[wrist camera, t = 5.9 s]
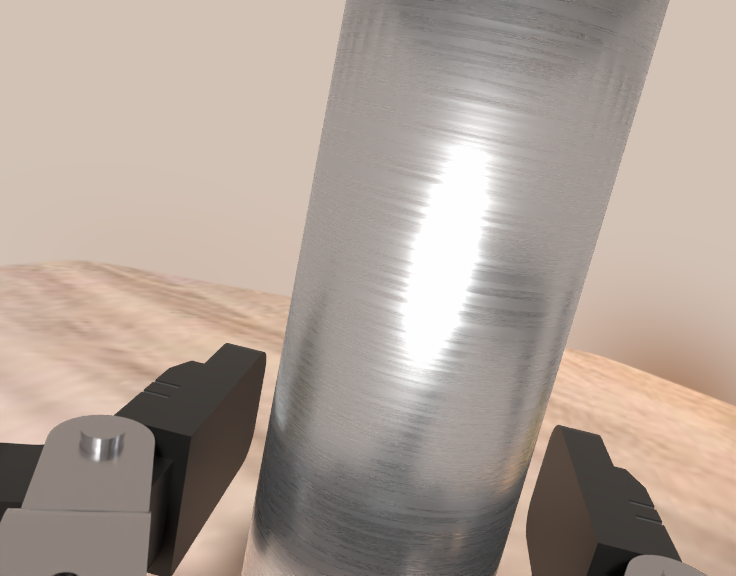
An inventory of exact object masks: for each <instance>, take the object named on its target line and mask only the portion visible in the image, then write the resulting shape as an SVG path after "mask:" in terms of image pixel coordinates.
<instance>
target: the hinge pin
mask: <svg viewBox="0 0 736 576" xmlns="http://www.w3.org/2000/svg"><path fill="white" fill-rule="evenodd" d="M668 3H669V0H346V4H345V9H344V15H343V20H342V26H341V31H340V37H339V42H338V48H337V53H336V58H335V64H334V70H333V75H332V80H331V86H330V91H329V97H328V102H327V108H326V113H325V119H324V124H323V130H322V135H321V140H320V146H319V152H318V158H317V162H316V168H315V173H314V179H313V185H312V190H311V196H310V201H309V206H308V212H307V217H306V223H305V228H304V234H303V239H302V245H301V250H300V256H299V261H298V266H297V272H296V278H295V283H294V289H293V294H292V299H291V305H290V310H289V316H288V321H287V327H286V332H285V338H284V343H283V349H282V354H281V360H280V365H279V370H278V376H277V381H276V387H275V392H274V398H273V403H272V409H271V414H270V420H269V425H268V431H267V436H266V442H265V447H264V453H263V458H262V464H261V469H260V475H259V480H258V485H257V491H256V496H255V502H254V507H253V513H252V518H251V524H250V529H249V535H248V540H247V546H246V551H245V557H244V562H243V568H242V573H241V576H496V574H497V571H498V567H499V564H500V561H501V557H502V554H503V551H504V547H505V544H506V541H507V537H508V534H509V531H510V527H511V524H512V521H513V517H514V514H515V511H516V507H517V504H518V501H519V498H520V494H521V491H522V488H523V484H524V481H525V478H526V474H527V471H528V468H529V464H530V461H531V458H532V454H533V451H534V448H535V444H536V441H537V438H538V435H539V431H540V428H541V425H542V421H543V418H544V415H545V411H546V408H547V405H548V401H549V398H550V395H551V391H552V388H553V385H554V381H555V378H556V375H557V372H558V368H559V365H560V362H561V358H562V355H563V352H564V348H565V345H566V341H567V338H568V335H569V332H570V328H571V325H572V322H573V318H574V315H575V312H576V308H577V305H578V302H579V298H580V295H581V292H582V289H583V285H584V282H585V279H586V275H587V272H588V269H589V265H590V262H591V259H592V255H593V252H594V249H595V246H596V242H597V239H598V236H599V232H600V229H601V226H602V222H603V219H604V216H605V212H606V209H607V206H608V202H609V199H610V196H611V192H612V189H613V186H614V182H615V179H616V176H617V172H618V169H619V166H620V163H621V159H622V156H623V153H624V149H625V146H626V142H627V139H628V136H629V132H630V129H631V126H632V123H633V119H634V116H635V112H636V109H637V106H638V103H639V99H640V96H641V93H642V90H643V86H644V83H645V79H646V76H647V73H648V69H649V66H650V63H651V60H652V56H653V53H654V50H655V47H656V43H657V40H658V36H659V33H660V30H661V27H662V23H663V20H664V17H665V13H666V10H667V7H668Z"/></svg>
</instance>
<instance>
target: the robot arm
mask: <svg viewBox="0 0 736 576" xmlns="http://www.w3.org/2000/svg"><path fill="white" fill-rule="evenodd" d="M265 367H266V353H265V352H262V351H258V350H254V349H250V348H246V347H242V346H237V345H233V344H229V343H226V344H224V345H223V346H222V347H221V348H220V349H219V350H218V351H217V352H216V353H215V354H214V355H213V356H212V357H211V358H210V359H209V360H208V361H207V362H206V363H205V364H203V363H199V362H195V361H189V362H186V363H183V364H180V365H177V366H174V367H171V368H169V369H168V370H166V371H165V372H164V373H163V374H162V375H161V376H159V377H158V378H157V379H156V381H155V382H152V383H151V384H150V385H149V386H148V387H147V388H145V389H144V392H141V393H140V394H138V395H137V396H136V397H135V398H134V399H133V400H131V401H130V402H129V403H128V404H127V405H126V406H124V407H123V408H122V409H121V410H120V411H119V412H117V413H116V414H115V415H114V416H112V415H90V416H82V417H78V418H73V419H71V420H68V421H65V422H63V423H61V424H59V425H58V426H56V427H55V428H54V429H53V430H52V431H51V432H50V433H49V435H48V437H47V439H46V442H45V445H28V444H13V443H0V576H146V572H147V573H151V574H154V575H158V576H172V575H173V573H174V572H175V570H176V568H177V567H178V565H179V564H180V562H181V561H182V559H183V557H184V556H185V554H186V553H187V551H188V550H189V548H190V546H191V545H192V543H193V542H194V540H195V538H196V537H197V535H198V534H199V532H200V531H201V529H202V527H203V526H204V524H205V523H206V521H207V519H208V518H209V516H210V515H211V513H212V512H213V510H214V508H215V507H216V505H217V504H218V502H219V501H220V499H221V497H222V496H223V494H224V493H225V491H226V489H227V488H228V486H229V485H230V483H231V482H232V480H233V478H234V477H235V475H236V474H237V472H238V471H239V469H240V467H241V466H242V464H243V462H244V460H245V458H246V456H247V454H248V451H249V448H250V445H251V442H252V438H253V434H254V429H255V424H256V418H257V412H258V407H259V401H260V395H261V390H262V384H263V378H264V373H265ZM526 539H527V546H528V552H529V558H530V565H531V571H532V576H707V575H705V574H704V573H702V572H700V571H699V570H697V569H695V568H693V567H691V566H689V565H687V564H684V563H682V561H681V559H680V557H679V555H678V553H677V551H676V549H675V546H674V544H673V542H672V540H671V538H670V536H669V534H668V532H667V530H666V528H665V526H664V525H662V520H661V518H660V516H659V514H658V512H657V510H654V504H653V502H652V500H651V498H650V496H649V494H648V492H647V490H646V488H645V487H644V486H643V485H642V484H641V483H640V482H638V481H637V480H636V479H635V478H634V477H633V476H632V475H631V474H630V473H629V472H628V471H627V470H626V469H622V468H618V467H614V466H613V463H612V461H611V459H610V456H609V454H608V452H607V450H606V447H605V445H604V443H603V440H602V438H601V436H600V435H597V434H593V433H589V432H585V431H581V430H577V429H573V428H569V427H565V426H561V425H557V426H556V427H555V428H554V430H553V432H552V434H551V437H550V440H549V443H548V446H547V449H546V453H545V456H544V459H543V462H542V466H541V469H540V472H539V475H538V479H537V482H536V485H535V488H534V492H533V495H532V498H531V502H530V505H529V510H528V516H527V523H526Z"/></svg>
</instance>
